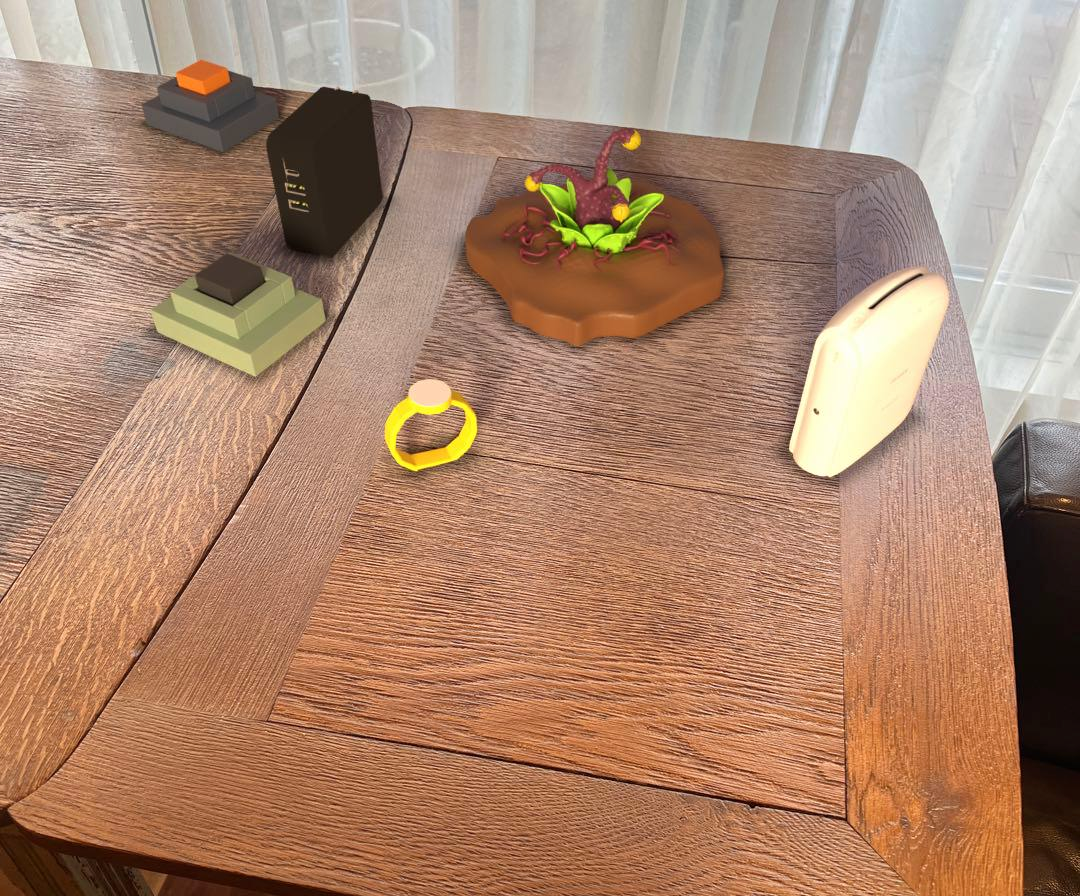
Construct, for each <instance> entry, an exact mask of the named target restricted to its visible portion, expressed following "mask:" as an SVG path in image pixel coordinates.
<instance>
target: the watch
mask: <svg viewBox="0 0 1080 896" xmlns="http://www.w3.org/2000/svg"><path fill="white" fill-rule="evenodd" d="M451 406H455V407H457V408H461V409H463V411H464V413H465V414H464V415H465V416H464V417H465V422H464V424H463V427H462V428H461V430H460V432H459V435H458V436H457V437H456V438H454V440H452V441H451V442H450V443H449V444H448V445H447V446H445V447H439V448H435V449H430V450H425V451H422V452H416V453H413V454H410V453H408V452H405V451H403V450H401V449H398V447H397V435H398V433H399V432H400V430H401V428H403V425H404V424H405V422H406V421H407V420H408V419H409V418H411V417H412V416H414V414H416V413H419V414H423V415H431V416H432V415H437V414H440V413H443V412H445V411H447V410H448V409H449V408H450V407H451ZM384 424H385V426H384V441H385V443H386V445H387V447H388V450H389V451H390V453H391V455H392V457H393V458H394V460H395V461H396V462H397V464H399V466H401V467H403V468H404V467H405V468H406V469H408V470H411V471H413V472H414V471H415V472H418V471H419V470H421V469H426V468H430V467H435V466H439V465H443V464H446V463H450V462H453V461H457V460H458V459H459V458H460V457H462V456H463V455H464V454H465V453H466V452H468V451H469V449H470V448H471V446H472V445H473V442H474V440H475V438H476V437H477V434H478V433H477V432H478V418H477V415H476V413H475V411H474V409H473V408H472V406H471V405H470V403H469V402H468V400H467V399H466V397H464V395H463V394H462V393H460V392H459V391H456V390H453V389H452V388H451V387H450V386H449V385H448V384H447V383H446V382H444V381H442V380H439V379H434V378H433V379H432V378H428V379H426V378H425V379H422V380H419V381H416V382H415V383H413V384H412V385H411V386H410V388H409V389H408V392H407V396H406V398H405V399H403V400H402V401H400V402H398V403H397V404H396V406H395V407H394V408H393V410H392V411H391V413H390V414H389V416H388V418H387V419H386V422H385V423H384Z"/></svg>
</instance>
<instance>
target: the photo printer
mask: <svg viewBox="0 0 1080 896" xmlns="http://www.w3.org/2000/svg"><path fill="white" fill-rule="evenodd" d="M949 304H950V290H949V287H948V284H947V283H946V280H945V278H944V277H943V276H942V274H941V273H938V272H934V271H931V270H930V269H929V268H928V267H927V266H925V265H915V266H910V267H906V268H902V269H899V270H896V271H894V272H891V273H889V274H887V275H885V276H883V277H882V278H880V279H877V280H875V281H874V282H873V283H871V284H869V285H867V286H866V288H864V289H863V290H862V291H860V292H859V293H857V294H856V295H855V296H854V297H852V298H851V299H850V300H849V301H848V302H846V303H845V304H844V305H843V306H842V307H841V308H840V309H839V310H838V311H837V312H835V314H834V315H833V316H832V317H831V318H830V319H829V321H827V323H826V324H825V325H824V326H823V328H822V329H821V331H820V333H819V334H818V335H817V338H816V340H815V342H814V346H813V350H812V354H811V359H810V362H809V366H808V369H807V374H806V379H805V382H804V387H803V389H802V394H801V398H800V403H799V406H798V410H797V413H796V414H797V415H796V418H795V422H794V426H793V429H792V433H791V436H790V441H789V447H788V450H789V452H790V453H791V454H792V455H793V456H792V457H793V460H794V462H795V463H796V464H797V465H798V467H799V468H801V470H804V471H805V472H807V473H810V474H812V475H814V476H820V477H828V478H831V477H834V476H836V475H838V474H840V473H841V472H843V471H845V470H846V469H847V468H849V467H851V465H853V464H854V463H855V462H857V461H858V460H859V459H861V458H862V457H863V456H865V454H868V452H869V451H871V450H872V449H874V447H876V446H877V445H878V444H879V443H880V442H882V441H883V440H884V439H885V438H886V437H887V436H888V435H890V434H891V433H892V432H893V431H894V430H895V429H896V428H897V427H899V426H900V425H901V424H902V423H903V422H904V421H905V419H906V418H907V416H908V415H909V413H910V411H911V409H912V407H913V405H914V403H915V400H916V396H917V395H918V392H919V390H920V386H921V383H922V381H923V378H924V375H925V372H926V370H927V367H928V364H929V361H930V359H931V356H932V353H933V350H934V347H935V345H936V341H937V340H938V337H939V334H940V331H941V328H942V325H943V322H944V319H945V317H946V314H947V311H948V309H949Z"/></svg>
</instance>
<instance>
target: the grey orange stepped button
mask: <svg viewBox="0 0 1080 896" xmlns="http://www.w3.org/2000/svg"><path fill="white" fill-rule="evenodd" d="M228 73H229V78H230V82H229V83H228V84H226V85H224V86H222V87H220V88H219V89H217V90H215V91H213V92H211V93H209V94H208V95H206V96H204V95H201V94H198V93H195V92H192V91H189V90H186V89H183V88H180V87H179V84H178V80H177V77H176V76H175V77H173V78H172V79H170V80H167V81H166V82H164V83H161V84H159V85H158V86H156V91H157V96H154V97H153V98H151V99H148V100H147V101H145V102H143V103H142V104H141V108H142V109H141V110H142V112H143V115H144V119H145V121H146V125H147V126H150V127H152V128H156V129H158V130H161V131H163V132H166V133H169V134H171V135H175V136H177V137H179V138H183V139H185V140H189V141H191V142H194V143H196V144H200V145H202V146H205V147H208V148H211V149H213V150H216V151H219V152H221V153H225V152H226V151H227V150H229V149H230V148H233V147H234V146H235V145H237V144H239V143H241V142H242V141H244V140H246V139H247V138H249V137H250V136H252V135H254V134H255V133H257V132H259V131H261V130H262V129H264V128H265V127H267V126H269V125H271V124H272V123H274V122H276V121H277V120H279V119H280V113H279V108H278V102H277V98H276V97H274V96H271V95H268V94H266V93H262V92H259V91H256V90H255V86H254V82H253V78H252V77H250V76H246V75H243V74H241V73H238V72H235V71H232V70H228Z"/></svg>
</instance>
